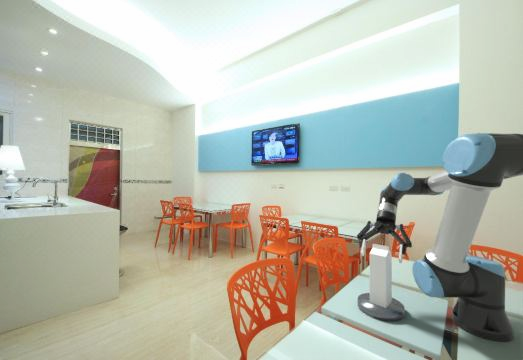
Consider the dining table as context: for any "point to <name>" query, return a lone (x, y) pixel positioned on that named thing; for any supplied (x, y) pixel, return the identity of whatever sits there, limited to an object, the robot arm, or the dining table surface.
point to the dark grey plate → (381, 309)
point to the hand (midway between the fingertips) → (380, 257)
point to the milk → (380, 276)
